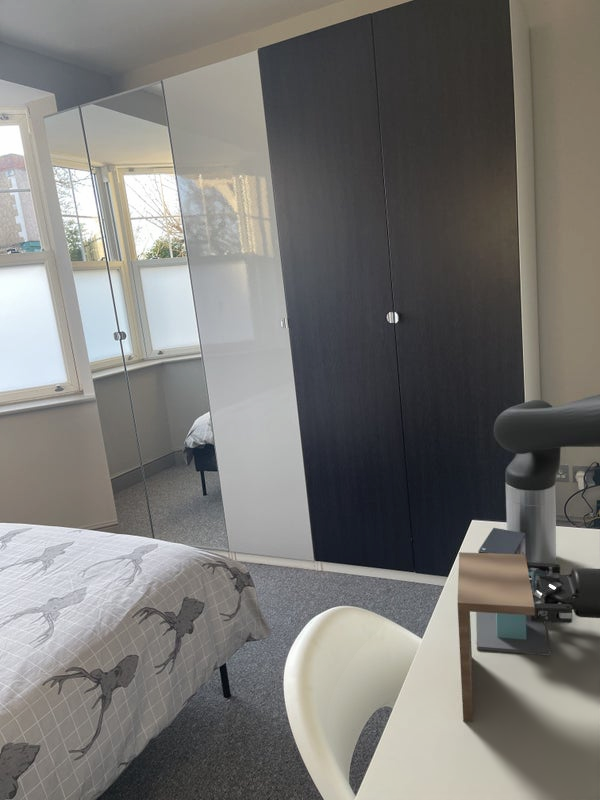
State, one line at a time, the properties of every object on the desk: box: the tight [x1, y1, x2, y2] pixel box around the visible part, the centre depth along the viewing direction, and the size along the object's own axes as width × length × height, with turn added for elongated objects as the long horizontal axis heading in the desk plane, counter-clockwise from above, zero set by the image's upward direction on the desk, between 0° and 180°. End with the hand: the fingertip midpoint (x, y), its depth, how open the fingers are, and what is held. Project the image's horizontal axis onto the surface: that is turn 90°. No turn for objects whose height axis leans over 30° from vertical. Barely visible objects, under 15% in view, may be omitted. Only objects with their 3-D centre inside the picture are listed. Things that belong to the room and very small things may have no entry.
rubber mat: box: [475, 612, 551, 656], centre depth 101 cm, size 10×11×1 cm
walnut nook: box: [457, 551, 535, 723], centre depth 86 cm, size 14×10×18 cm
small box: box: [477, 527, 525, 554], centre depth 112 cm, size 11×6×10 cm, turn 148°
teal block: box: [496, 613, 526, 639], centre depth 99 cm, size 4×4×12 cm
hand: (497, 588), depth 99 cm, fingers open, 8 cm apart
